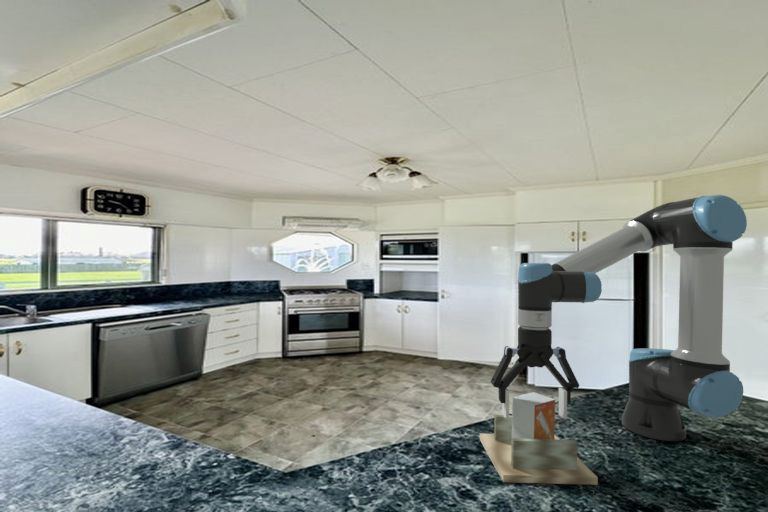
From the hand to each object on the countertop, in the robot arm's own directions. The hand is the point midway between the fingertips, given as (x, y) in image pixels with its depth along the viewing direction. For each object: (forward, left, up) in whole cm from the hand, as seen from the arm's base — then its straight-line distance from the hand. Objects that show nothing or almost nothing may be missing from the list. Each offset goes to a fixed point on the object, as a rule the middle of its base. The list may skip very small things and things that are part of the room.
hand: (534, 416), depth 92 cm
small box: (0, 0, -9) cm, 9 cm away
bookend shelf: (0, 0, -10) cm, 10 cm away
